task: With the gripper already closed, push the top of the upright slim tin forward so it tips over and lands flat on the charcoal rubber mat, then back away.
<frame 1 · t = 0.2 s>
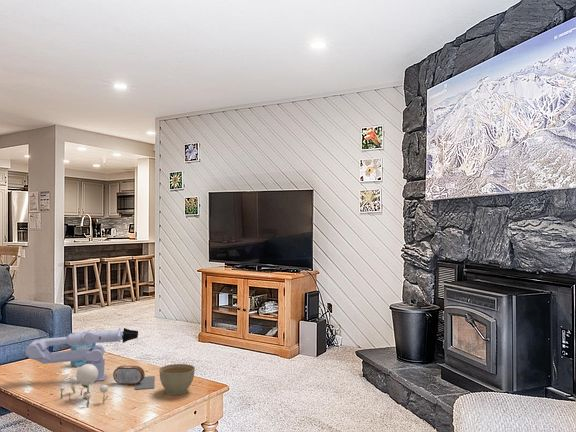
hand: (137, 334, 246), 21 cm above the table, tool horizontal, fingers open, 7 cm apart
figurines: (84, 400, 212), on the table
planter bowl: (176, 392, 223), on the table
tin: (128, 384, 233), on the table, touching mat
mat: (145, 383, 235), on the table
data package: (83, 365, 263), on the table
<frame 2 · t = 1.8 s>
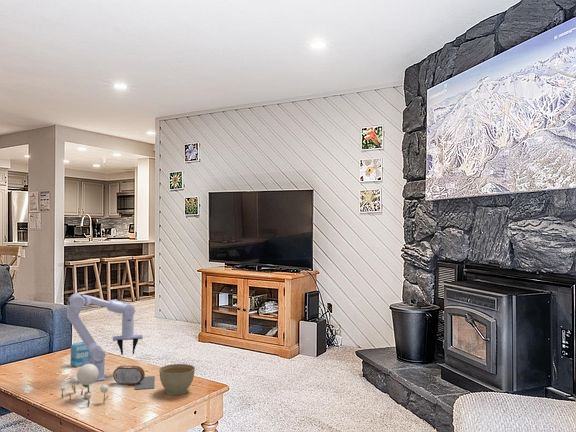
hand: (127, 353, 248), 10 cm above the table, tool pointing down, fingers open, 5 cm apart
nothing on the table moved.
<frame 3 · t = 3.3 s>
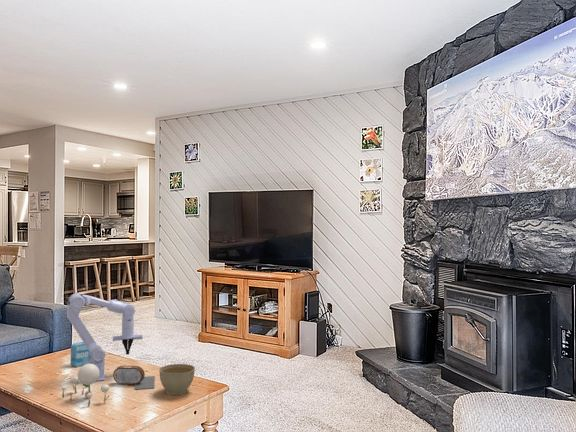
hand: (127, 353, 248), 10 cm above the table, tool pointing down, fingers closed
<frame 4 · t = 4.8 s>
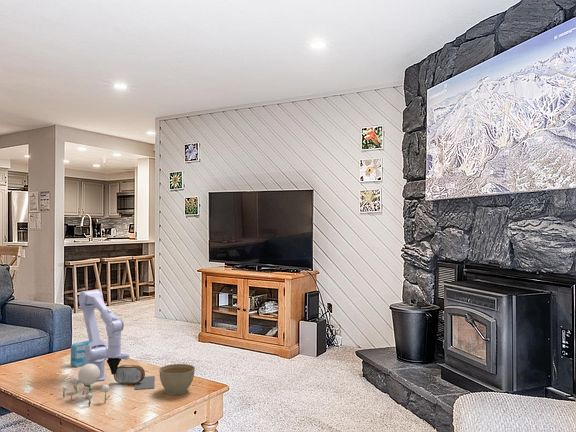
hand: (113, 373, 231), 5 cm above the table, tool pointing down, fingers closed
tin: (128, 383, 233), on the table, touching gripper, mat
everything else where it was.
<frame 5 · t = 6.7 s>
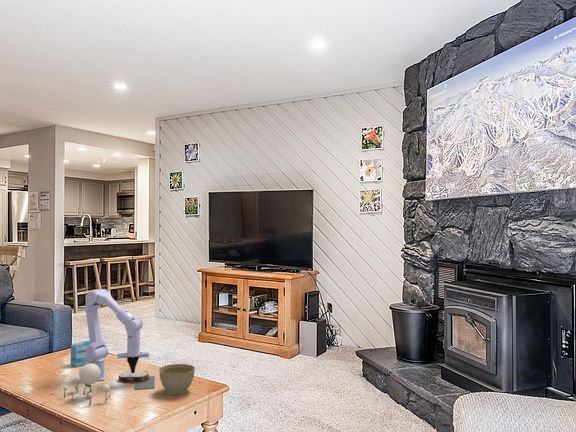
hand: (132, 372, 233), 5 cm above the table, tool pointing down, fingers closed
tin: (130, 379, 234), point 2 cm above the table, touching mat
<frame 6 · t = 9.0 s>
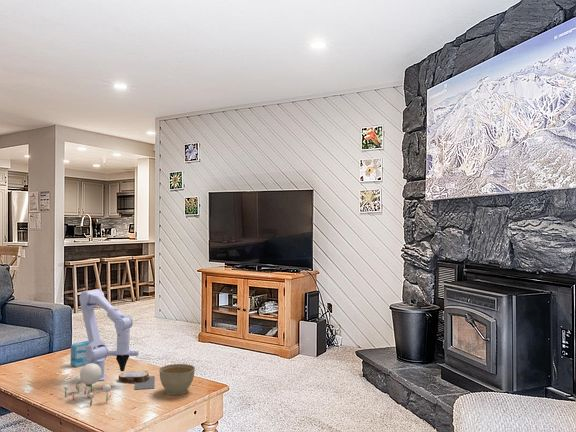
hand: (122, 370, 232), 7 cm above the table, tool pointing down, fingers closed
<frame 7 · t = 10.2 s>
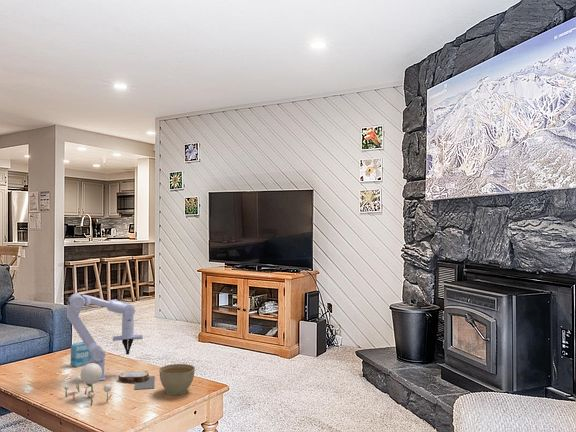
hand: (127, 353, 248), 10 cm above the table, tool pointing down, fingers closed
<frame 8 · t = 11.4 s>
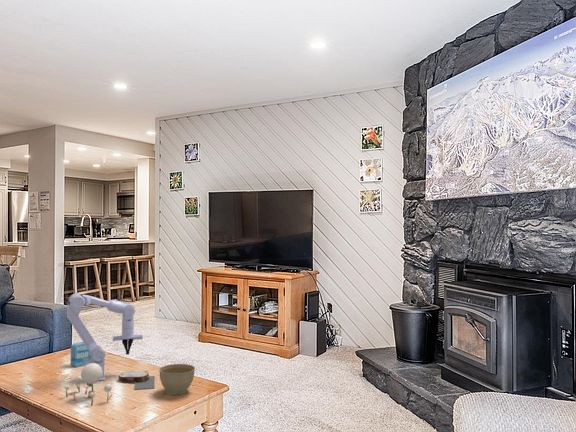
hand: (127, 353, 248), 10 cm above the table, tool pointing down, fingers closed
at the end: tin tilted 93°; tin inside the target area (5.7 cm from its centre), point 1.9 cm above the table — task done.
